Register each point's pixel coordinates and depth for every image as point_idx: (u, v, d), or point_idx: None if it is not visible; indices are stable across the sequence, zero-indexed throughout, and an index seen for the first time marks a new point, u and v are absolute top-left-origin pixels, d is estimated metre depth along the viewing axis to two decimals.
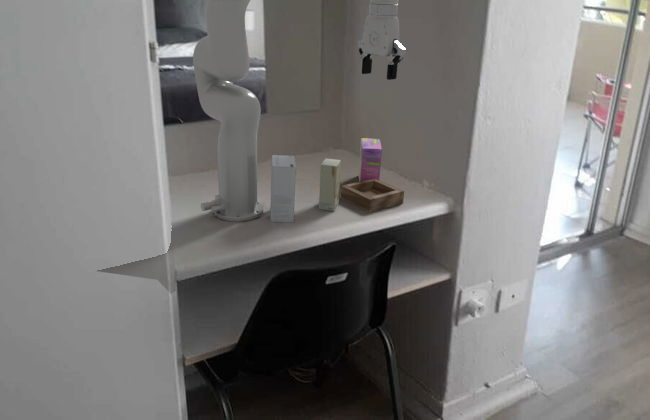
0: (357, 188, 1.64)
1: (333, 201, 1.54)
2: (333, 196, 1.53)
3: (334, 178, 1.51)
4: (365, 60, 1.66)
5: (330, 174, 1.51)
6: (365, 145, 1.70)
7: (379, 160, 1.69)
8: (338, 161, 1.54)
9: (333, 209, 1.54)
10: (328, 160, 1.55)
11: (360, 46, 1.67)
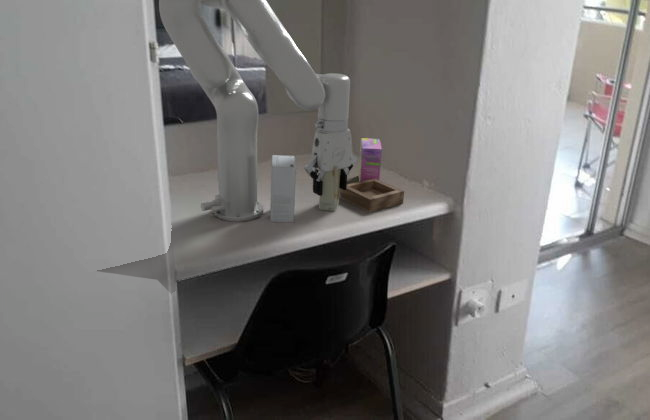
0: (357, 188, 1.64)
1: (333, 201, 1.54)
2: (333, 196, 1.53)
3: (334, 178, 1.51)
4: None
5: (330, 174, 1.51)
6: (365, 145, 1.70)
7: (379, 160, 1.69)
8: None
9: (333, 209, 1.54)
10: None
11: (311, 170, 1.49)
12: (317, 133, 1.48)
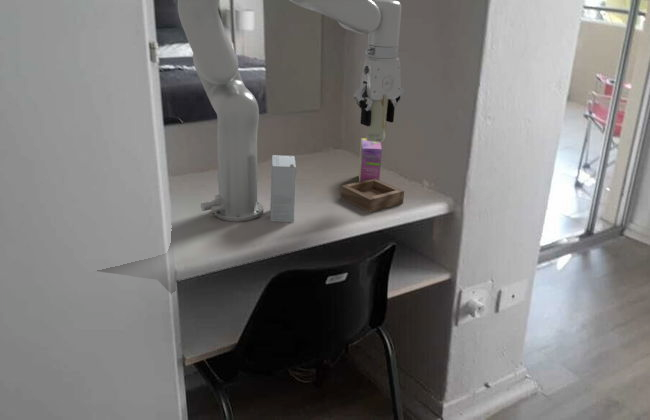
0: (357, 188, 1.64)
1: (381, 132, 1.52)
2: (381, 126, 1.51)
3: (383, 107, 1.50)
4: None
5: (379, 103, 1.50)
6: (365, 145, 1.70)
7: (379, 160, 1.69)
8: None
9: (381, 140, 1.53)
10: None
11: (360, 98, 1.48)
12: (367, 60, 1.46)
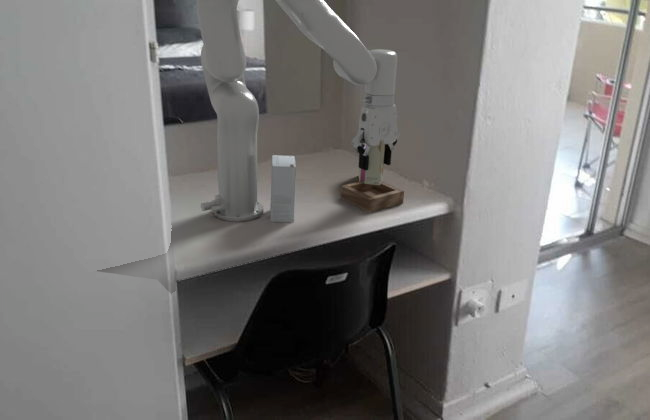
0: (357, 188, 1.64)
1: (379, 175, 1.57)
2: (379, 170, 1.56)
3: (380, 152, 1.54)
4: None
5: (376, 149, 1.54)
6: None
7: None
8: None
9: (379, 183, 1.57)
10: None
11: (358, 145, 1.52)
12: (364, 108, 1.51)
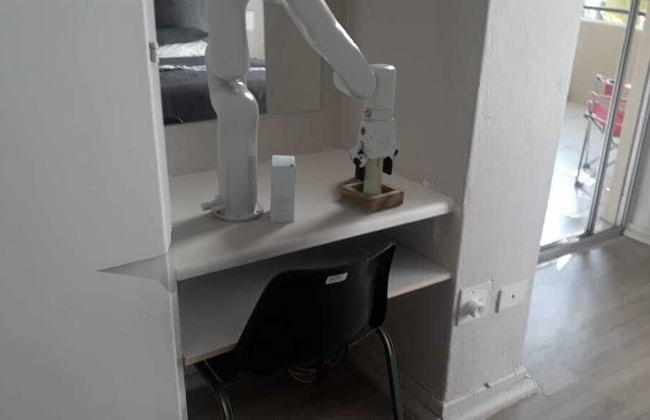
0: (357, 188, 1.64)
1: (377, 191, 1.58)
2: (377, 187, 1.58)
3: (379, 169, 1.56)
4: None
5: (375, 165, 1.56)
6: None
7: None
8: None
9: None
10: None
11: (355, 155, 1.53)
12: (363, 122, 1.52)
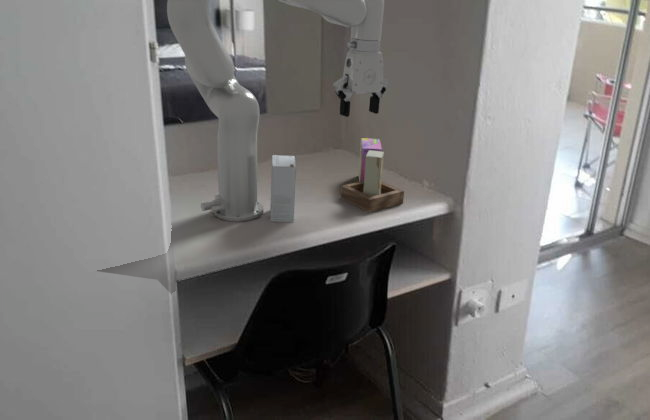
0: (357, 188, 1.64)
1: (377, 191, 1.58)
2: (377, 187, 1.58)
3: (379, 169, 1.56)
4: None
5: (375, 165, 1.56)
6: (365, 145, 1.70)
7: None
8: (382, 153, 1.59)
9: None
10: (372, 151, 1.59)
11: (339, 88, 1.49)
12: (349, 53, 1.48)
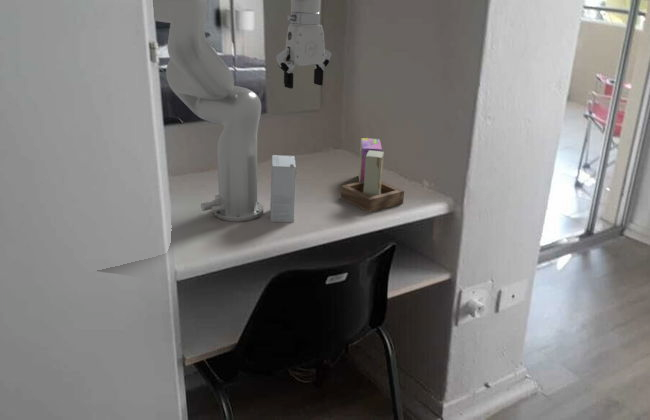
0: (357, 188, 1.64)
1: (377, 191, 1.58)
2: (377, 187, 1.58)
3: (379, 169, 1.56)
4: None
5: (375, 165, 1.56)
6: (365, 145, 1.70)
7: None
8: (382, 153, 1.59)
9: None
10: (372, 151, 1.59)
11: (282, 61, 1.54)
12: (290, 26, 1.53)
